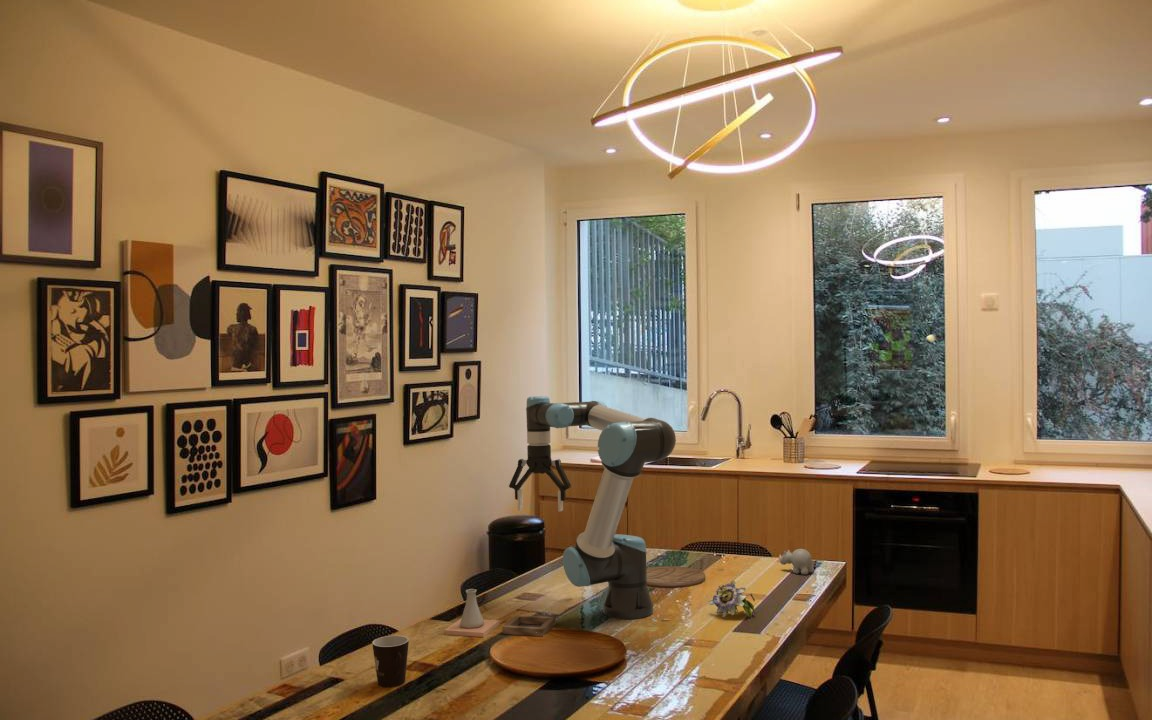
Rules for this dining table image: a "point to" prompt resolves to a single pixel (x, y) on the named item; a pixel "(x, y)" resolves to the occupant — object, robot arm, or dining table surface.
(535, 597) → the dining table surface
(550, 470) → the robot arm
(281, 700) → the dining table surface
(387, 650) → the coffee mug
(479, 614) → the flask
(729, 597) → the passion flower
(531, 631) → the walnut holder
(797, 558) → the chubby cartoon animal
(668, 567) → the trivet
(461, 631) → the terracotta coaster
